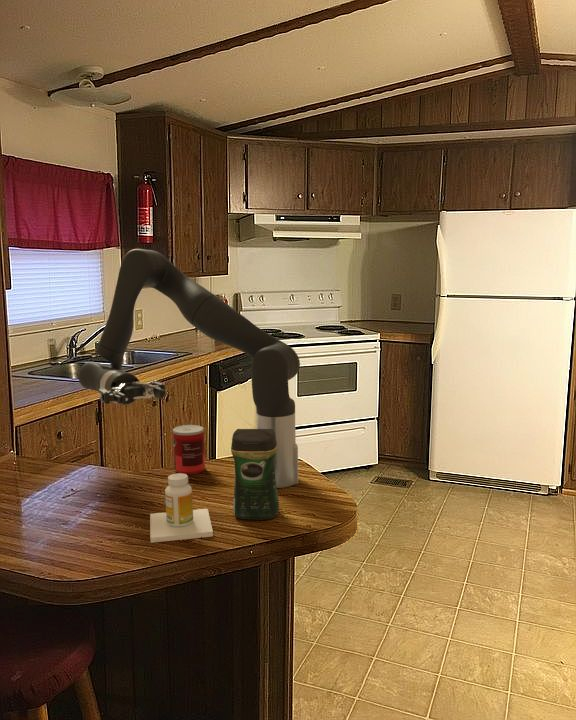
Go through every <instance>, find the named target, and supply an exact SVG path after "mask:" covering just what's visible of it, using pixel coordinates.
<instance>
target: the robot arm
mask: <svg viewBox="0 0 576 720" xmlns="http://www.w3.org/2000/svg"><path fill="white" fill-rule="evenodd" d="M118 271H119V272H118V276H117V279H116V280H117V281H116V286H115V290H114V295H113V299H112V303H111V308H110V311H109V315H108V318H107V319H106V323H105V326H104V328H103V331H102V334H101V335H100V336H101V337H100V339H99V340H98V343H97V346H96V354H98V356H100V357H101V358H102V359H104V360H107V361H109V362H110V364H109V365H108V364H104V363H100V362H95V361H88V362H86V363H84V364H83V365H82V366H81V367H80V368H79V371H78V373H77V374H78V375H77V376H78V381H79V385H81V386H82V388H84V389H87V390H90V391H93V392H94V391H95V392H98V396H99V397H98V398H99V401H101V402H102V403H103V404H105V405H109V404H111V402H113V404H118V405H122V406H126V405H130V404H132V403H134V402H135V401H137V400H139V399H150V398H152V397H153V398H156V399H159V400H162V399H164V397H165V395H167V392H166V384H165V383H163V382H159V381H157V380H152V381H151V382H140V379H139V378H138V376H135V375H134V374H132V373H129V372H127V371H124V370H122V367H123V360H124V357H125V354H126V351H127V349H128V346H129V343H130V341H131V338H132V335H133V331H134V320H135V318H134V316H135V315H134V314H135V313H134V311H135V306H136V301H137V299H138V297H139V295H140V293H141V291H142V289H143V288H144V287H148V288H152V289H155V290H156V291H158V292H160V293H161V294H163V295H164V296H166V297H167V298H168V299H170V300H171V301H172V302H173V303H174V304H175V306H176V307H177V308H178V310H179V311H180V314H181V315H182V316H183V317H184V319H185V320H186V321H187V322H188V323H189V324H190V325H192V326H193V327H194V328H195V329H196V330H198V331H199V332H201V333H202V334H203V335H205V336H207V337H208V338H210V339H211V340H213V341H216V342H218V343H221V344H223V345H226V346H228V347H231V348H233V349H235V350H236V349H237V350H239V351H241V352H243V353H244V354H246V355H247V356H249V357H250V358H251V360H252V361H251V365H250V366H251V367H250V375H251V376H250V377H251V390H252V392H251V393H252V394H251V395H252V399H253V403H254V406H255V409H256V429H273V430H274V432H275V436H276V442H277V452H276V455H275V458H274V466H275V478H276V486H277V489H283V488H288V487H291V486H293V485H299V448H298V443H296V440H297V438H296V436H297V435H296V402H295V400H294V399H293V398H291V397H290V391H289V390H290V389H289V381H290V380H292V379H293V378H294V377H296V375H297V374H298V373H299V371H300V367H301V363H300V357H299V356H298V354H297V352H296V351H295V350H294V348H292V347H291V346H290V345H288V344H287V343H285V342H283V341H281V340H280V339H278V338H276V337H275V336H273V335H272V334H270V333H268V332H266V331H264V330H262V329H261V328H260V327H258V326H256V324H254V323H253V322H252V321H250V320H249V318H246V317H245V316H244V315H242V314H241V313H240V312H238V311H237V310H236V309H234V308H233V307H232V306H230V305H229V304H228V303H227V302H225V301H224V300H223V299H221V298H220V297H218V296H217V295H216V294H215V293H213V292H211V291H210V290H208V289H207V288H205V287H203V285H201V284H199V283H198V282H196V281H194V280H193V279H191V278H190V277H188V276H187V275H185V273H183V272H182V271H181V270H180V269H179V268H178V267H177V266H175V265H174V264H173V262H171V261H170V260H169V259H168V258H167V257H166V256H164V255H163V254H162V253H160V252H159V251H157V250H152V249H145V248H144V249H143V248H134V249H131V250H129V251H127V253H125V255H124V256H123V257H122V261H121V263H120V266H119V270H118Z"/></svg>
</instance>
